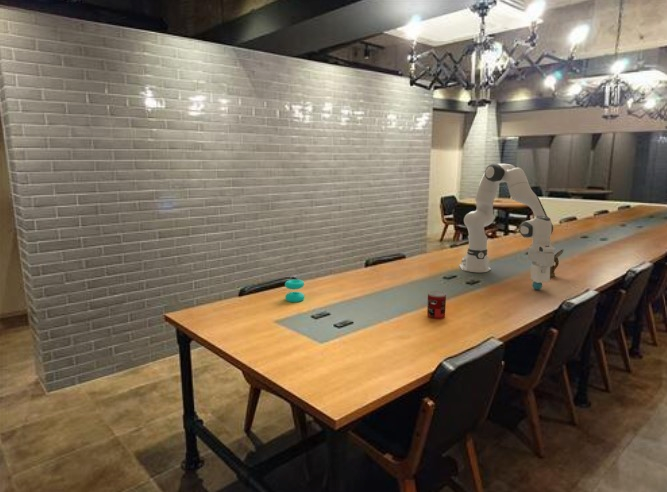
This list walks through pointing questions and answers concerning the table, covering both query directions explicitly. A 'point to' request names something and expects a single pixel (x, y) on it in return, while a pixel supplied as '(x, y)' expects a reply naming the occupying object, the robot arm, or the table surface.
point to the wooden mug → (555, 264)
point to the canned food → (436, 304)
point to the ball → (537, 285)
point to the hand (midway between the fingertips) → (539, 271)
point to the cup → (539, 273)
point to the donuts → (294, 295)
